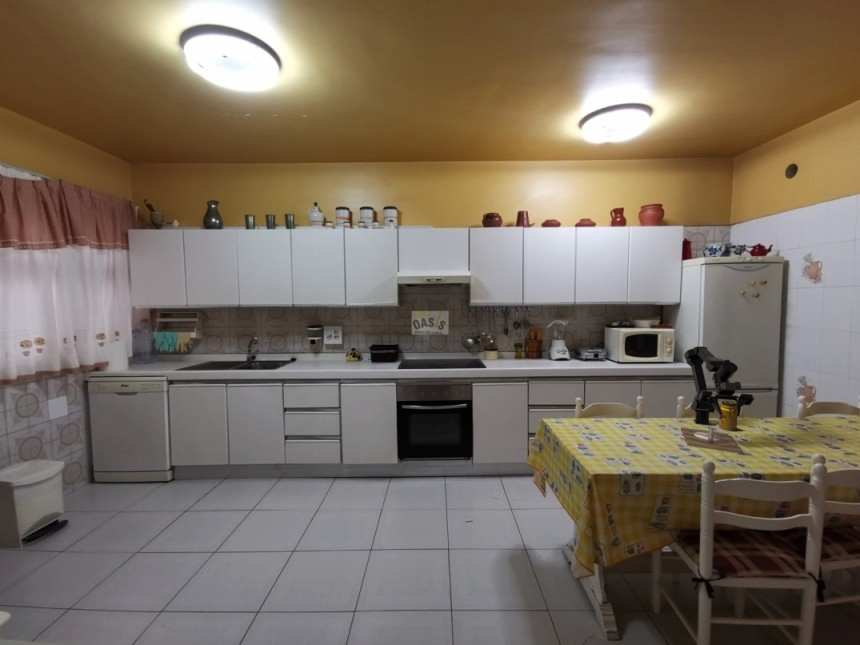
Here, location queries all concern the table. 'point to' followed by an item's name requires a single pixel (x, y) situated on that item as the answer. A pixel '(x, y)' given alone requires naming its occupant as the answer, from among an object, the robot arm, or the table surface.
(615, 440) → the table surface
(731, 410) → the condiment
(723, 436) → the locating plate
